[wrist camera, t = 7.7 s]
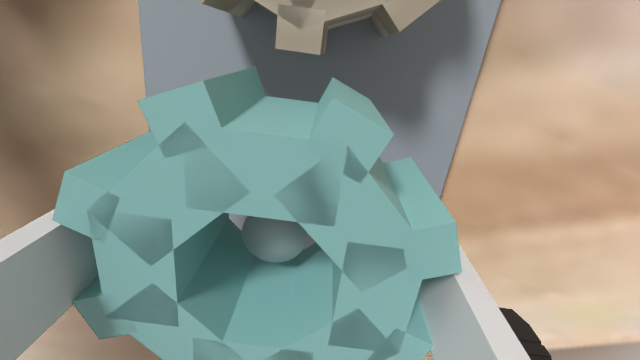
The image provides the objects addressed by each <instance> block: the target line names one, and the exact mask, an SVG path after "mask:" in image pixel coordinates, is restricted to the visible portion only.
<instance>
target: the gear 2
mask: <svg viewBox="0 0 640 360" xmlns="http://www.w3.org/2000/svg"><path fill="white" fill-rule="evenodd" d="M137 101H138V104H139V106H140V108H141V110H142V112H143V114H144V116H145V118H146V120H147V122H148V124H149V126H150V128H151V130H152V131H150V132H148V133H146V134H144V135H142V136H140V137H137V138H135V139H133V140H131V141H129V142H127V143H125V144H122V145H120V146H118V147H116V148H114V149H112V150H110V151H107V152H105V153H103V154H101V155H99V156H97V157H95V158H93V159H90V160H88V161H86V162H84V163H82V164H80V165H78V166H75V167H73V168H71V169H69V170H67V171H65V172H64V175H63V179H62V183H61V187H60V191H59V195H58V199H57V203H56V207H55V211H54V214H53V218H52V221H54V222H57V223H59V224H61V225H63V226H66V227H68V228H70V229H72V230H75V231H77V232H79V233H81V234H84V235H86V236H88V237H90V238H92V242H93V248H94V253H95V258H96V263H97V269H98V274H99V275H98V276H97V277H96V278H95V279H94V280H93V281H92V282H91V283H90V284H89V285H88V286H87V287H86V288H85V289H84V290H83V291H82V292H81V293H80V294H79V295H78V296H77V297H76V298H75V299H74V300H73V301H72V303H73V304H74V306H75V307H76V308H77V310H78V311H79V312H80V314H81V315H82V316H83V318H84V319H85V320H86V322H87V323H88V325H89V326H90V327H91V329H92V330H93V331H94V333H95V334H96V335H97V337H98V338H99V339H105V338H111V337H116V336H121V335H127V334H130V335H131V336H132V337H134V338H135V339H136V340H138V341H139V342H140V343H141V344H143V345H144V346H145V347H147V348H148V349H149V350H151V351H152V352H153V353H155V354H156V355H157V356H159V357H160V358H161V359H163V360H421V359H422V358H423V357H424V356H425V355H426V354H427V353H428V352H429V351H430V350H431V349H432V347H433V344H432V341H431V337H430V334H429V331H428V328H427V325H426V322H425V319H424V315H423V312H422V309H421V306H420V303H419V300H418V297H417V295H418V292H419V289H420V285H421V282H422V280H423V279H429V278H434V277H439V276H445V275H450V274H456V273H461V272H462V266H461V259H460V251H459V243H458V235H457V227H456V222H455V220H454V219H453V217H452V216H451V214H450V213H449V211H448V210H447V209H446V207H445V206H444V204H443V203H442V201H441V200H440V199H439V197H438V196H437V194H436V193H435V191H434V190H433V189H432V187H431V186H430V184H429V183H428V181H427V180H426V178H425V177H424V176H423V174H422V173H421V171H420V170H419V168H418V167H417V166H416V164H415V163H414V161H413V160H412V158H411V157H409V158H405V159H401V160H397V161H392V162H388V163H383V162H382V160H381V159H380V157H379V156H380V154H381V153H382V152H383V150H384V149H385V147H386V146H387V144H388V143H389V141H390V140H391V138H392V137H393V135H394V133H393V132H392V131H391V129H390V128H389V126H388V125H387V123H386V122H385V120H384V119H383V117H382V116H381V115H380V113H379V112H378V110H377V109H376V107H375V106H374V104H373V103H372V102H371V100H370V99H368V98H367V97H365V96H363V95H362V94H360V93H358V92H357V91H355V90H353V89H352V88H350V87H348V86H347V85H345V84H343V83H342V82H340V81H338V80H337V79H335V78H334V77H333V78H332V79H331V81H330V83H329V85H328V87H327V88H326V90H325V92H324V94H323V96H322V97H321V99H320V101H319V103H315V102H308V101H300V100H293V99H285V98H278V97H270V96H265V94H264V91H263V88H262V85H261V82H260V79H259V76H258V73H257V70H256V67H253V68H249V69H245V70H241V71H238V72H234V73H230V74H226V75H223V76H219V77H215V78H211V79H208V80H204V81H200V82H197V83H194V84H190V85H187V86H184V87H180V88H177V89H174V90H170V91H167V92H164V93H160V94H157V95H154V96H150V97H147V98H144V99H140V100H137ZM229 213H230V214H238V215H246V216H254V217H262V218H270V219H277V220H285V221H293V222H298V223H299V224H300V225H301V226H302V227H303V228H304V230H305V231H306V232H307V233H308V234H309V235H310V236H311V237H312V238H313V239H314V241H315V243H314V244H312V245H310V246H309V247H307V248H306V249H304V250H303V251H301V252H300V253H299V254H298V255H297V256H296V257H294V258H293V259H291V260H288V261H285V262H277V263H275V262H268V261H264V260H262V259H260V258H258V257H256V256H255V255H253V254H252V253H251V252H250V251H249V250H248V249H247V247H246V246H245V244H244V241H243V238H242V231H241V230H240V229H239V228H238V227H237V226H236V225H235V224H234V223H233V222H232V221H231V220H230V219H229Z"/></svg>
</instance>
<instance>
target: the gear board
mask: <svg viewBox="0 0 640 360" xmlns="http://www.w3.org/2000/svg"><path fill="white" fill-rule="evenodd" d="M500 2H501V0H440V1H439V2H437V3H436V4H435V5H433V6H432V7H431V8H430V9H428V10H427V11H426V12H425V13H423V14H422V15H421V16H419V17H418V18H417V19H416V20H414V21H413V22H412V23H411V24H409V25H408V26H407V27H405V28H404V29H403V30H402V31H400V32H398V33H394V34H391V35H387V36H383V37H381V36H380V35H379V33H378V31H377V30H376V28H375V27H374V25H373V24H372V22H371V21H370V19H369V18H366V19H363V20H360V21H356V22H353V23H350V24H346V25H343V26H340V27H336V28H333V29H330V30H328V35H327V43H326V51H325V53H324V54H321V55H317V54H310V53H303V52H296V51H289V50H282V49H275V43H276V29H277V14H275V13H273V12H272V11H270V10H269V9H267V8H266V7H264V6H262V5H261V4H259V3H257V4H256V5H255V6H254V7H253V8H252V9H251V10H250V11H249V12H248V13H247V14H246V15H245V16H244V17H240V16H237V15H234V14H231V13H228V12H225V11H222V10H219V9H216V8H213V7H210V6H207V5H204V4H202V3H201V2H200V1H199V0H138V4H139V16H140V29H141V41H142V54H143V66H144V78H145V91H146V98H147V97H150V96H154V95H157V94H160V93H164V92H167V91H170V90H174V89H177V88H180V87H184V86H187V85H190V84H194V83H197V82H200V81H204V80H208V79H211V78H215V77H219V76H223V75H226V74H230V73H234V72H238V71H241V70H245V69H249V68H253V67H256V70H257V73H258V76H259V79H260V82H261V85H262V88H263V91H264V94H265V96H270V97H278V98H285V99H293V100H300V101H308V102H315V103H319V101H320V99H321V97H322V96H323V94H324V92H325V90H326V88H327V87H328V85H329V83H330V81H331V79H332V78H333V77H334V78H335V79H337V80H338V81H340V82H342V83H343V84H345V85H347V86H348V87H350V88H352V89H353V90H355V91H357V92H358V93H360V94H362V95H363V96H365V97H367V98H368V99H370V100H371V102H372V103H373V104H374V106H375V107H376V109H377V110H378V112H379V113H380V115H381V116H382V117H383V119H384V120H385V122H386V123H387V125H388V126H389V128H390V129H391V131H392V132H393V133H394V135H393V137H392V138H391V140H390V141H389V143H388V144H387V146H386V147H385V149H384V150H383V152H382V153H381V154H380V156H379V157H380V159H381V160H382V162H383V163H388V162H392V161H397V160H401V159H405V158H409V157H411V158H412V160H413V161H414V163H415V164H416V166H417V167H418V168H419V170H420V171H421V173H422V174H423V176H424V177H425V178H426V180H427V181H428V183H429V184H430V186H431V187H432V189H433V190H434V191H435V193H436V194H437V196H438V197H439V199H440V196H441V193H442V189H443V186H444V183H445V180H446V177H447V173H448V170H449V167H450V164H451V160H452V157H453V154H454V151H455V147H456V144H457V141H458V138H459V134H460V131H461V128H462V125H463V122H464V118H465V115H466V112H467V109H468V105H469V102H470V99H471V96H472V92H473V89H474V86H475V83H476V80H477V76H478V73H479V70H480V67H481V63H482V60H483V57H484V54H485V50H486V47H487V44H488V41H489V37H490V34H491V31H492V28H493V25H494V21H495V18H496V15H497V12H498V8H499V5H500ZM148 128H149V132H150V131H152V130H151V128H150V126H149V124H148ZM229 219H230V220H231V221H232V222H233V223H234V224H235V225H236V226H237V227H238V228H239V229H240V230H241V231H242V238H243V241H244V244H245V246H246V247H247V249H248V250H249V251H250V252H251V253H252V254H253V255H255V256H256V257H258V258H260V259H262V260H264V261H268V262H275V263H277V262H285V261H288V260H291V259H293V258H294V257H296V256H297V255H298V254H299V253H300V252H301V251H303V250H304V249H306V248H307V247H309V246H310V245H312V244H314V243H315V241H314V239H313V238H312V237H311V236H310V235H309V234H308V233H307V232H306V231H305V230H304V228H303V227H302V226H301V225H300V224H299V223H298V222H293V221H285V220H277V219H270V218H262V217H254V216H246V215H238V214H230V213H229Z"/></svg>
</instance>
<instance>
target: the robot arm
mask: <svg viewBox="0 0 640 360" xmlns="http://www.w3.org/2000/svg"><path fill="white" fill-rule="evenodd" d="M54 211H55V209H53V210H52V211H50V212H48V213H46V214H45V215H43V216H41V217H39V218H37V219H36V220H34V221H32V222H30V223H28V224H27V225H25V226H23V227H21V228H20V229H18V230H16V231H14V232H12V233H11V234H9V235H7V236H5V237H3V238H1V239H0V360H16V359H17V358H18V357H19V356H20V355H21V354H22V353H23V352H24V351H25V350H26V349H27V348H28V347H29V346H30V345H31V344H32V343H33V342H34V341H35V340H36V339H37V338H39V337H40V336H41V335H42V334H43V333H44V332H45V331H46V330H47V329H48V328H49V327H50V326H51V325H52V324H53V323H54V322H55V321H56V320H57V319H58V318H59V317H60V316H61V315H62V314H64V313H65V312H66V311H67V310H68V309H69V308H70V307H71V306H72V305H73V303H72V301H73V300H74V299H75V298H76V297H77V296H78V295H79V294H80V293H81V292H82V291H83V290H84V289H85V288H86V287H87V286H88V285H89V284H90V283H91V282H92V281H93V280H94V279H95V278H96V277H97V276H98V275H99V274H98V269H97V263H96V258H95V253H94V248H93V242H92V238H90V237H88V236H86V235H84V234H81V233H79V232H77V231H75V230H72V229H70V228H68V227H66V226H63V225H61V224H59V223H57V222H54V221H52V218H53V214H54ZM459 251H460V259H461V266H462V272H461V273H456V274H450V275H445V276H439V277H434V278H429V279H423V280H422V282H421V285H420V289H419V292H418V295H417V297H418V300H419V303H420V306H421V309H422V312H423V315H424V319H425V322H426V325H427V328H428V331H429V334H430V337H431V341H432V344H433V347H432V349H431V353H432V356H433V359H434V360H552V359H551V355H550V354H549V353H548V351H547V350H546V348H545V347H544V346H543V345H541V341H540V340H539V338H538V337H537V335H536V334H535V332H534V331H533V329H532V328H531V327H530V325H529V324H528V323H527V322H526V321H524V320H523V319H522V318H521V317H520V316H519V315H518V314H517V313H516V312H514V311H513V310H512V309H506V308H499V307H498V306H497V304H496V303H495V301H494V300H493V298H492V296H491V295H490V293H489V291H488V290H487V288H486V287H485V285H484V283H483V282H482V280H481V279H480V277H479V275H478V274H477V272H476V271H475V269H474V267H473V266H472V264H471V263H470V261H469V259H468V258H467V256H466V254H465V253H464V251H463V250H462V248H461V246H460V245H459Z"/></svg>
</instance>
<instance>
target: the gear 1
mask: <svg viewBox="0 0 640 360" xmlns="http://www.w3.org/2000/svg"><path fill="white" fill-rule="evenodd" d="M199 1H200V2H201V3H202V4H204V5H207V6H210V7H213V8H216V9H219V10H222V11H225V12H228V13H231V14H234V15H237V16H240V17H244V16H245V15H246V14H247V13H248V12H249V11H250V10H251V9H252V8H253V7H254V6H255V5H256V4H257V3H259V4H261V5H262V6H264V7H266V8H267V9H269V10H270V11H272V12H273V13H275V14H277V29H276V43H275V49H282V50H289V51H296V52H303V53H310V54H317V55H321V54H324V53H325V51H326V43H327V35H328V30H330V29H333V28H336V27H340V26H343V25H346V24H350V23H353V22H356V21H360V20H363V19H366V18H369V19H370V21H371V22H372V24H373V25H374V27H375V28H376V30H377V31H378V33H379V35H380V36H381V37H383V36H387V35H391V34H394V33H398V32H400V31H402V30H403V29H404V28H405V27H407V26H408V25H409V24H411V23H412V22H413V21H414V20H416V19H417V18H418V17H419V16H421V15H422V14H423V13H425V12H426V11H427V10H428V9H430V8H431V7H432V6H433V5H435V4H436V3H437V2H439V1H440V0H199Z"/></svg>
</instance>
